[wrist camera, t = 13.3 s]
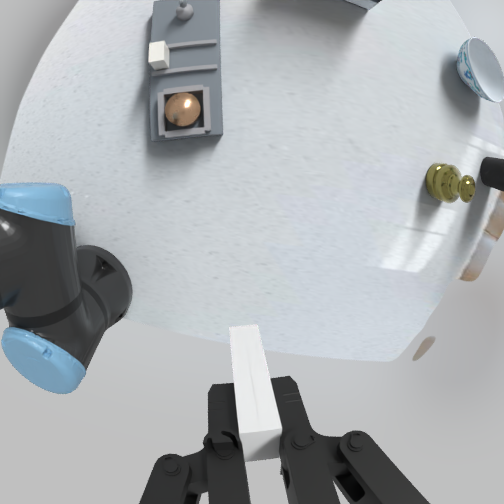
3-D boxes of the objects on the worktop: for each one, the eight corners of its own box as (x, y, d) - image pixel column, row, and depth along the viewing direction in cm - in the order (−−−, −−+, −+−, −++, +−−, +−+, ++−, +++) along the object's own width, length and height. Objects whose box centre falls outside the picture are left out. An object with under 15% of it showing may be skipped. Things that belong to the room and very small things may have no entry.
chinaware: (456, 33, 31) (477, 27, 24) (488, 83, 35) (509, 83, 28) (435, 59, 34) (460, 53, 27) (471, 114, 39) (495, 115, 31)
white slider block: (155, 70, 29) (148, 62, 26) (155, 52, 28) (149, 43, 25) (169, 68, 30) (163, 59, 26) (169, 50, 28) (164, 40, 25)
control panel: (155, 141, 36) (147, 140, 32) (157, 9, 27) (151, -5, 23) (222, 134, 37) (223, 132, 32) (219, 2, 28) (219, -13, 24)
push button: (169, 128, 32) (165, 127, 30) (168, 98, 31) (164, 94, 28) (201, 125, 33) (200, 123, 30) (200, 94, 31) (199, 90, 29)
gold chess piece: (422, 195, 44) (457, 207, 35) (427, 158, 41) (464, 164, 32) (445, 201, 45) (478, 213, 36) (450, 166, 43) (485, 174, 33)
